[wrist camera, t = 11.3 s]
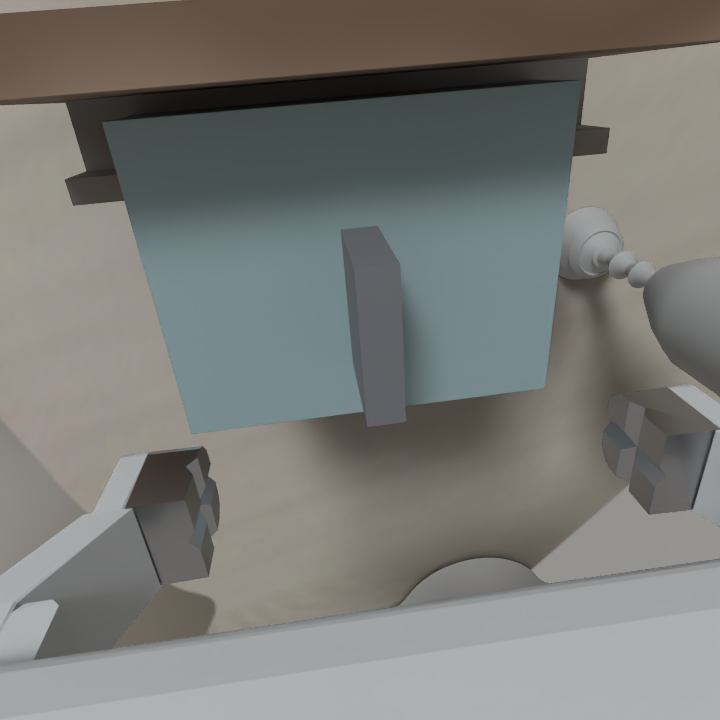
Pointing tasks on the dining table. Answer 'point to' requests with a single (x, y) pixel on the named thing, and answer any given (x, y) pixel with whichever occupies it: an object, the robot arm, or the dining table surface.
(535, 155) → the cabinet
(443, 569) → the robot arm
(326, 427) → the dining table surface
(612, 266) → the chalice
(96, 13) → the wall board
